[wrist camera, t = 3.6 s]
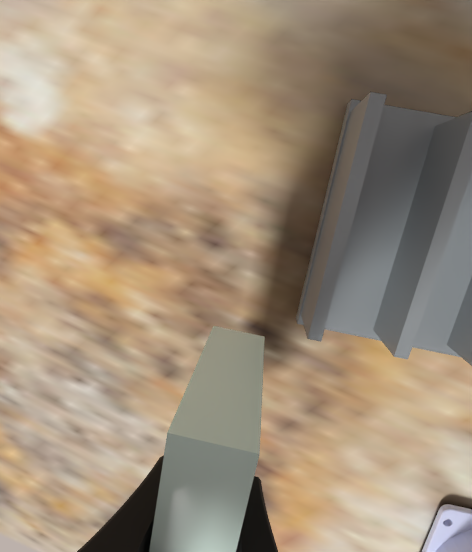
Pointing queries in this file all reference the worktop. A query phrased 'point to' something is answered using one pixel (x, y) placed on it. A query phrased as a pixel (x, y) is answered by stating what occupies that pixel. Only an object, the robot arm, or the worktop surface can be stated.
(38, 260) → the worktop surface
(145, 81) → the worktop surface
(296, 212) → the worktop surface
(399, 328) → the dish rack
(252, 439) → the celadon plate
